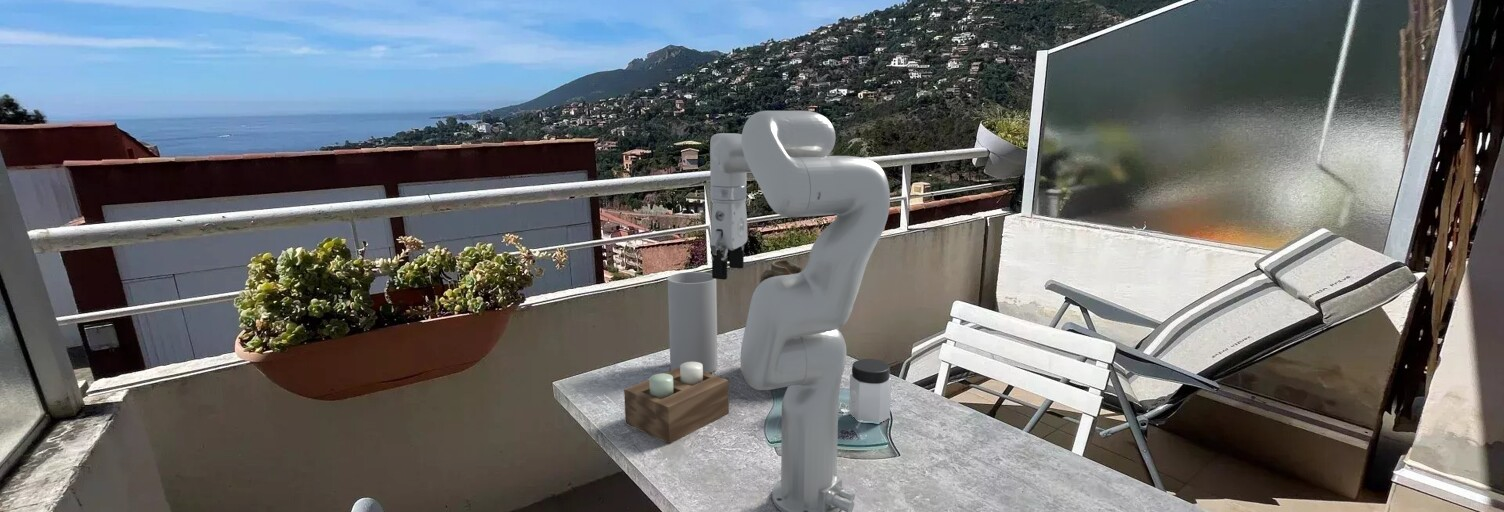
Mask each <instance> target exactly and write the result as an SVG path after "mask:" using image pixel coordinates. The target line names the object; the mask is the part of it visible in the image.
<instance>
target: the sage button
mask: <svg viewBox="0 0 1504 512" xmlns="http://www.w3.org/2000/svg"><path fill="white" fill-rule="evenodd" d="M664 373H665V372H664ZM664 373H655V374H653V375H651V376H650V377H649V378H648V380H649V382H650V396H653V397H655V398H658V399H660V400H661V399H663V398H665V397H668V396H670V395H672V394H674V391H673V376H672V375H670V374H664Z"/></svg>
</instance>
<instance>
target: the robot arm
mask: <svg viewBox="0 0 1504 512" xmlns="http://www.w3.org/2000/svg"><path fill="white" fill-rule="evenodd" d="M835 143H836V131H835V128H834V126H833V124H832V123H831V121H830V120H829V119H828V117H826V116H824V115H823V114H820V113H819V112H815V111H811V110H762V111H761V110H760V111H758V112H755V113H753V114H752V115H750V117H748V119H747V120H746V122H745V124H744V125H743V129H742V132H741V133H729V132H726V133H724V132H723V133H722V132H721V133H716V134H713V135H712V136H711V137H710V144H709V146H710V147H709V148H710V150H709V154H710V155H709V159H710V161H709V169H710V171H709V172H710V177H709V179H710V186H709V187H710V189H709V191H710V194H709V195H710V198H709V199H710V202H712V209H711V219H710V220H711V221H710V222H711V223H710V226H711V227H710V242H709V246H710V255H711V259H710V260H711V274H712V278H714V279H716V280H725V281H727V279H728V265H729V268H732V269H744V266H745V265H744V263H745V262H744V260H745V259H744V257H745V255H744V253H745V252H744V250H745V245H746V243H747V242H748V214H747V205H746V202H747V177H748V176H747V174H752V175H753V178H754V179H755V181H756V183H757V184H758V187H759V189H760V190H761V193H762V195H763V196H764V198H765V200H766V202H767V204H768V205H769V207H770V208H771V210H772V211H773V212H775V213H776V214H777V215H779V216H782V217H785V218H802V217H817V216H830V215H836V217H835V218H834V219H833V220H832V222H830V224H829V225H827V226H826V227H825V228H824V229H823V230H822V231H821V233H820V234H819V235H818V236H817V238H816V240H815V241H814V243H813V244H812V246H811V249H810V251H809V256H808V260H807V264H806V266H805V268H804V269H802V271H801V272H800V273H797V274H790V275H782V276H775V277H770V278H768V279H765V280H764V281H762V282H761V283H760V282H759V284H758V285H757V286H756V288H755V289H754V291H753V293H752V296H751V299H750V303H749V310H748V314H747V318H746V321H745V328H744V333H743V336H742V343H741V348H740V358H739V359H740V369H741V374H742V377H743V378H744V381H745V383H747V385H748V386H749V387H751V388H752V389H755V390H758V391H771V390H776V389H782V388H786V390H785V393H784V394H783V399H782V403H781V439H780V441H781V444H780V445H781V447H780V448H781V449H780V450H781V452H780V453H781V454H780V455H781V457H780V458H781V459H780V461H781V463H780V464H781V465H780V467H781V470H780V472H781V473H780V480H778V482H776V483H775V485H773V488H772V490H771V495H772V496H771V500H772V503H773V505H774V506H775V508H777V510H779V511H780V512H840V511H843V512H853V510H854V507H855V502H854V500H855V497H856V495H855V493H853V492H850V491H847V490H845V489H844V488H843V478H842V477H839V476H837V474H838V473H837V470H838V467H837V466H838V431H839V430H838V429H839V407H840V404H839V403H840V392H841V391H840V390H841V383H842V379H843V374H844V369H845V366H846V359H847V345H846V342H845V341H846V340H845V338H844V336H843V334H842V332H841V331H840V330H839V329H841V328H842V327H843V326H845V325H846V323H847V321H848V320H849V318H850V316H851V314H852V311H853V308H854V304H855V302H856V299H857V296H858V294H859V291H860V287H861V284H862V281H863V277H864V274H865V272H866V268H867V265H868V263H869V259H870V258H871V256H872V254H873V251H874V249H875V248H876V246H877V245H878V242H879V240H880V238H881V236H882V234H883V232H884V229H885V227H886V224H887V221H888V218H889V213H890V208H891V207H890V206H891V205H890V204H891V192H890V191H891V190H890V185H889V181H888V178H887V175H886V172H885V171H884V170H883V168H882V167H881V166H880V164H878V163H876V162H874V161H873V160H870V159H869V158H865V157H861V156H854V155H853V156H851V155H830V154H831V153H832V151H833V149H834V147H835V145H836V144H835ZM728 253H729V255H728ZM727 255H728V256H729V257H728V258H729V259H728V260H727ZM728 261H729V262H728ZM728 263H729V264H728Z"/></svg>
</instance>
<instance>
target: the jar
mask: <svg viewBox="0 0 1504 512" xmlns="http://www.w3.org/2000/svg"><path fill="white" fill-rule="evenodd" d="M851 366H852V367H851V374H850V375H849V401H848V402H849V403H848V404H849V405H848V406H849V407H848V413H850V414H851V415H853V416H854V417H855V418H856V419H857V420H863V421H873V422H882V423H883V421H884V422H886V421H887V420H888V419H890V417H891V400H892V378H891V376H890V374H891V366H890V364H889V363H887V362H886V361H883V360H879V359H876V358H875V359H874V358H873V359H872V358H863V359H858V360H855V361H854V362H853V363H852V365H851ZM850 414H849V415H850ZM851 415H850V416H851Z"/></svg>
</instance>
